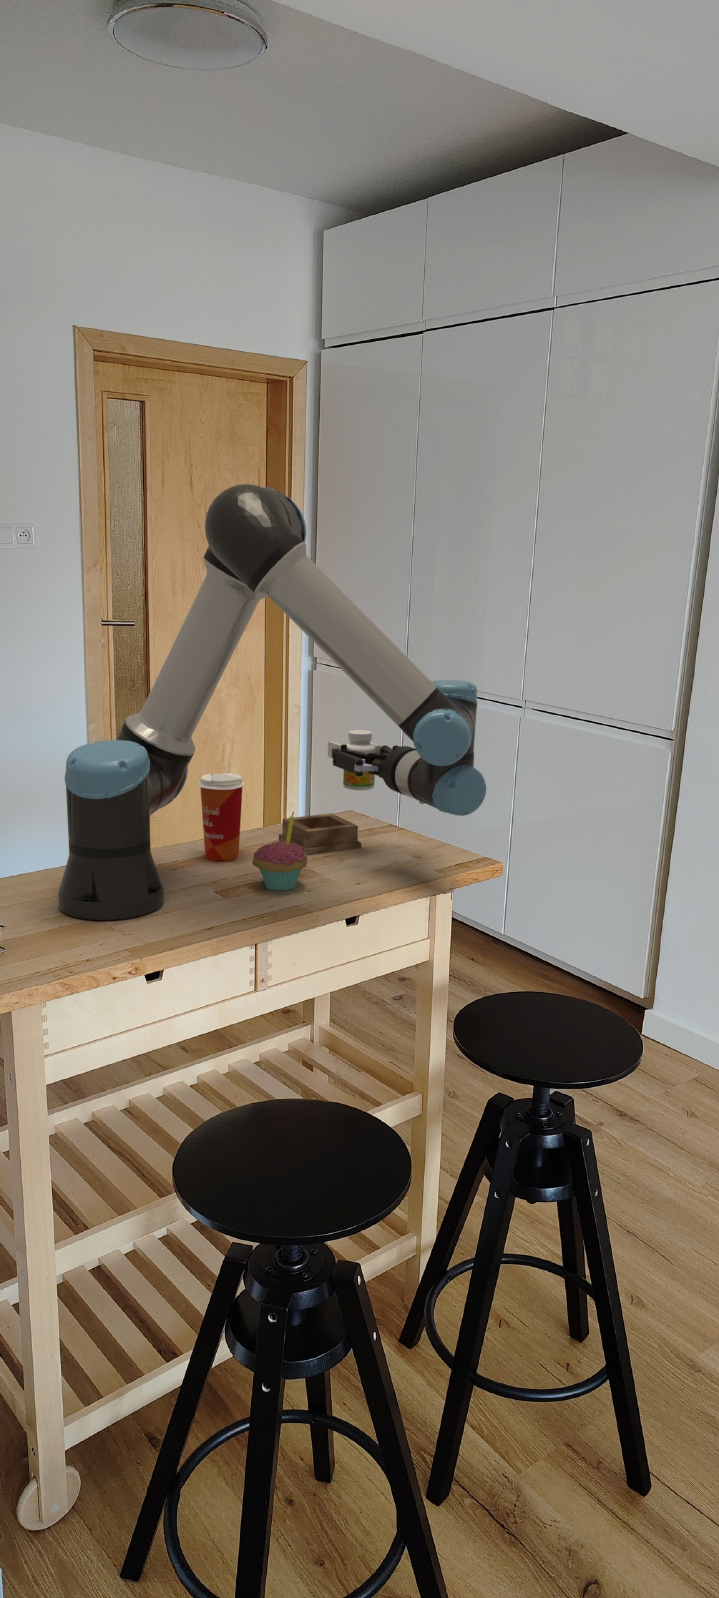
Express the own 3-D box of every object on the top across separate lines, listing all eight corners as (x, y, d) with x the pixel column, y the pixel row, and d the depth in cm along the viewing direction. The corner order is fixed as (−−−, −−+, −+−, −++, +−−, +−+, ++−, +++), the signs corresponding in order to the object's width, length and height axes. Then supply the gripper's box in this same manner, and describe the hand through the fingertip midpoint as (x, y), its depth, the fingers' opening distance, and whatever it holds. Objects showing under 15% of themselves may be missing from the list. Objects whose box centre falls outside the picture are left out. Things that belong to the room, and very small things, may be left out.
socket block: (305, 855, 186) (306, 832, 185) (278, 839, 196) (278, 818, 195) (361, 847, 192) (361, 826, 191) (332, 833, 201) (332, 812, 200)
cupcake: (298, 876, 174) (299, 804, 172) (314, 892, 166) (315, 817, 164) (246, 881, 171) (246, 807, 169) (260, 897, 164) (260, 820, 161)
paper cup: (193, 853, 186) (192, 773, 183) (236, 849, 189) (235, 770, 186) (207, 865, 179) (206, 783, 176) (251, 860, 182) (251, 780, 179)
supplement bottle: (337, 785, 187) (339, 730, 185) (365, 783, 190) (366, 728, 188) (351, 791, 183) (353, 735, 180) (379, 789, 185) (381, 733, 183)
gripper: (361, 801, 166) (297, 772, 186) (461, 791, 175) (389, 764, 195) (363, 753, 164) (298, 729, 184) (463, 746, 173) (391, 723, 193)
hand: (345, 747), depth 189 cm, fingers closed on supplement bottle, 5 cm apart
